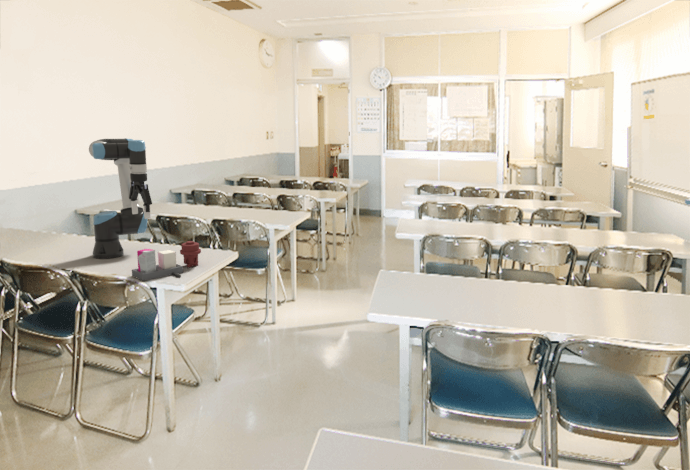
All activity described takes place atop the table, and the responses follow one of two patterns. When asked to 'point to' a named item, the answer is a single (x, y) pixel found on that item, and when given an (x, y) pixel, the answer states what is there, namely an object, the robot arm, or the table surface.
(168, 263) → the grey double recess tray
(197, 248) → the mechanical component
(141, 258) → the supplement box
